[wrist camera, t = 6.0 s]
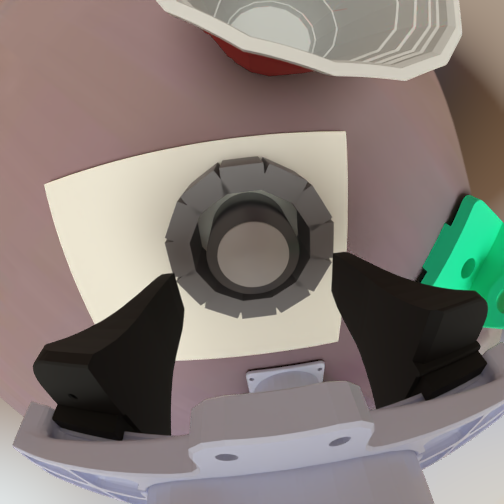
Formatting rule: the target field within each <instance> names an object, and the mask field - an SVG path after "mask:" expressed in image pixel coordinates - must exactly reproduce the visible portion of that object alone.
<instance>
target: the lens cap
mask: <svg viewBox="0 0 504 504" xmlns="http://www.w3.org/2000/svg"><path fill="white" fill-rule="evenodd" d="M206 255H207V262H208V266H209V268H210V270H211V272H212V274H213V275H214V277H215V278H216V279H217V280H218V281H219V282H220V283H221V284H222V285H224V286H225V287H227V288H229V289H231V290H233V291H236V292H239V293H244V294H259V293H264V292H267V291H270V290H273V289H275V288H277V287H278V286H280V285H281V284H283V283H284V282H285V281H286V280H287V279H288V278H289V277H290V276H291V274H292V273H293V271H294V269H295V268H296V265H297V263H298V259H299V243H298V239H297V236H296V234H295V232H294V230H293V229H292V227H291V225H290V223H289V221H288V220H287V218H286V216H285V214H284V213H283V211H282V209H281V208H280V206H279V205H278V204H277V203H276V202H275V201H274V200H273V199H271V198H269V197H268V196H266V195H263V194H260V193H254V192H246V193H240V194H237V195H234V196H232V197H230V198H229V199H227V200H226V201H224V202H223V203H222V204H221V205H220V207H219V208H218V209H217V211H216V213H215V215H214V218H213V222H212V226H211V231H210V235H209V240H208V244H207V251H206Z"/></svg>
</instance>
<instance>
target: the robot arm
mask: <svg viewBox="0 0 504 504" xmlns="http://www.w3.org/2000/svg"><path fill="white" fill-rule="evenodd" d="M331 292H332V295H333V298H334V300H335V303H336V306H337V308H338V310H339V312H340V314H341V316H342V318H343V320H344V322H345V323H346V325H347V327H348V329H349V331H350V333H351V335H352V337H353V339H354V340H355V342H356V345H357V347H358V349H359V352H360V354H361V357H362V360H363V363H364V366H365V369H366V372H367V375H368V379H369V382H370V386H371V389H372V393H373V397H374V401H375V406H376V409H375V410H369V409H368V406H367V404H366V401H365V399H364V396H363V394H362V391H361V389H360V386H357V385H355V384H353V383H350V382H348V381H330V382H323V376H324V368H325V364H324V362H323V361H316V362H310V363H304V364H299V365H292V366H286V367H279V368H271V369H264V370H255V371H249V372H247V373H246V378H247V383H248V387H249V392H250V393H247V394H235V395H224V396H220V397H215V398H210V399H206V400H204V401H202V402H201V403H199V404H198V405H197V406H195V407H194V408H193V409H192V411H191V422H190V433H189V434H187V435H180V436H171V391H172V378H173V370H174V364H175V360H176V355H177V351H178V347H179V342H180V338H181V334H182V329H183V322H184V311H185V309H184V305H183V302H182V299H181V295H180V292H179V288H178V285H177V281H176V278H175V274H174V273H168V274H161V275H160V276H158V277H157V278H156V279H155V280H153V281H152V282H151V283H150V284H149V285H148V286H147V287H145V288H144V289H143V290H142V291H141V292H140V293H139V294H137V295H136V296H135V297H134V298H133V299H131V300H130V301H129V302H128V303H126V304H125V305H124V306H123V307H121V308H120V309H119V310H117V311H116V312H115V313H113V314H112V315H110V316H109V317H107V318H105V319H104V320H102V321H100V322H99V323H97V324H95V325H93V326H91V327H90V328H88V329H86V330H84V331H81V332H79V333H77V334H75V335H72V336H70V337H67V338H65V339H62V340H59V341H56V342H52V343H49V344H46V345H45V346H44V348H43V349H42V351H41V352H40V354H39V356H38V357H37V359H36V361H35V362H34V365H33V371H34V374H35V376H36V378H37V380H38V381H39V383H40V384H41V385H42V387H43V388H44V389H45V390H46V391H47V393H48V394H49V395H50V396H51V397H52V398H53V400H54V401H55V402H56V403H57V404H58V405H57V407H56V409H55V410H54V409H53V408H51V407H49V406H46V405H43V404H39V403H36V402H31V403H30V405H29V407H28V409H27V412H26V414H25V416H24V418H23V421H22V423H21V425H20V428H19V430H18V432H17V435H16V437H15V440H14V443H13V448H14V449H16V450H17V451H18V452H19V453H21V454H22V455H23V456H25V457H26V458H27V459H29V460H30V461H31V462H33V463H34V464H36V465H37V466H38V467H40V468H41V469H43V470H44V471H46V472H47V473H49V474H50V475H52V476H54V477H56V478H59V479H61V480H64V481H66V482H68V483H71V484H73V485H76V486H79V487H81V488H84V489H87V490H89V491H92V492H95V493H98V494H101V495H104V496H107V497H110V498H113V499H116V500H120V501H124V502H127V503H131V504H434V501H433V499H432V496H431V493H430V490H429V487H428V485H427V482H426V479H425V477H424V474H423V471H422V470H423V469H425V468H426V467H428V466H430V465H432V464H434V463H435V462H437V461H439V460H441V459H442V458H444V457H446V456H447V455H449V454H450V453H452V452H454V451H455V450H457V449H458V448H460V447H461V446H463V445H464V444H466V443H467V442H469V441H470V440H472V439H473V438H474V437H475V436H477V435H478V434H480V433H481V432H482V431H484V430H485V429H487V428H488V427H489V426H491V425H492V424H493V423H495V422H496V421H497V420H498V419H500V418H501V417H502V416H503V415H504V343H503V342H500V343H499V344H497V345H495V346H494V347H492V348H490V349H488V350H487V351H486V352H485V353H484V354H483V355H481V354H480V353H479V351H478V350H479V349H480V344H479V343H478V342H477V341H476V340H477V338H478V336H479V334H480V332H481V330H482V327H483V325H484V323H485V320H486V317H487V313H488V304H487V302H486V300H485V299H484V298H483V297H482V296H481V295H480V294H479V293H478V292H476V291H473V290H456V289H448V288H441V287H435V286H431V285H426V284H422V283H418V282H415V281H412V280H409V279H406V278H403V277H400V276H397V275H395V274H392V273H390V272H388V271H386V270H383V269H381V268H379V267H377V266H375V265H373V264H371V263H369V262H367V261H365V260H363V259H361V258H359V257H357V256H355V255H353V254H350V253H348V252H338V253H333V261H332V285H331Z"/></svg>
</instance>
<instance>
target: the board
mask: <svg viewBox="0 0 504 504" xmlns="http://www.w3.org/2000/svg"><path fill="white" fill-rule="evenodd" d="M44 186H45V190H46V195H47V199H48V203H49V206H50V210H51V214H52V217H53V221H54V224H55V227H56V230H57V234H58V237H59V240H60V243H61V246H62V249H63V251H64V254H65V257H66V260H67V262H68V265H69V268H70V270H71V273H72V275H73V278H74V280H75V282H76V285H77V287H78V289H79V292H80V294H81V296H82V298H83V301H84V303H85V305H86V307H87V309H88V311H89V313H90V315H91V317H92V319H93V321H94V323H95V324H97V323H99V322H100V321H102V320H104V319H105V318H107V317H109V316H110V315H112V314H113V313H115V312H116V311H117V310H119V309H120V308H121V307H123V306H124V305H125V304H126V303H128V302H129V301H130V300H131V299H133V298H134V297H135V296H136V295H137V294H139V293H140V292H141V291H142V290H143V289H144V288H145V287H147V286H148V285H149V284H150V283H151V282H152V281H153V280H155V279H156V278H157V277H158V276H160V275H161V274H168V273H174V274H175V278H176V281H177V285H178V288H179V292H180V295H181V299H182V302H183V305H184V309H185V311H184V322H183V329H182V334H181V338H180V342H179V347H178V351H177V355H176V360H175V361H180V360H200V359H215V358H227V357H238V356H248V355H256V354H265V353H272V352H280V351H287V350H293V349H299V348H306V347H311V346H317V345H322V344H328V343H333V342H338V339H339V332H340V324H341V314H340V312H339V310H338V308H337V306H336V303H335V300H334V298H333V295H332V292H331V285H332V261H333V253H338V252H347V227H348V169H347V144H346V131H319V132H295V133H279V134H267V135H256V136H247V137H238V138H230V139H222V140H215V141H209V142H202V143H196V144H191V145H185V146H180V147H174V148H169V149H164V150H160V151H155V152H150V153H146V154H142V155H138V156H133V157H129V158H126V159H122V160H118V161H114V162H111V163H107V164H103V165H100V166H97V167H93V168H90V169H87V170H84V171H80V172H77V173H74V174H71V175H68V176H65V177H63V178H60V179H57V180H54V181H52V182H49V183H47V184H44ZM246 192H254V193H260V194H263V195H266V196H268V197H269V198H271V199H273V200H274V201H275V202H276V203H277V204H278V205H279V206H280V208H281V209H282V211H283V213H284V214H285V216H286V218H287V220H288V221H289V223H290V225H291V227H292V229H293V230H294V232H295V234H296V236H297V239H298V243H299V259H298V263H297V265H296V268H295V269H294V271H293V273H292V274H291V276H290V277H289V278H288V279H287V280H286V281H285V282H284V283H283V284H281V285H280V286H278V287H277V288H275V289H273V290H270V291H267V292H264V293H259V294H244V293H239V292H236V291H233V290H231V289H229V288H227V287H225V286H224V285H222V284H221V283H220V282H219V281H218V280H217V279H216V278H215V277H214V275H213V274H212V272H211V270H210V268H209V266H208V262H207V255H206V251H207V244H208V240H209V235H210V231H211V226H212V222H213V218H214V215H215V213H216V211H217V209H218V208H219V207H220V205H221V204H222V203H223V202H224V201H226V200H227V199H229V198H230V197H232V196H234V195H237V194H240V193H246Z"/></svg>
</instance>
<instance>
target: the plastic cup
mask: <svg viewBox="0 0 504 504" xmlns="http://www.w3.org/2000/svg"><path fill="white" fill-rule="evenodd" d="M156 1H157V2H158V3H159V4H160V6H161V7H162V8H163V9H164V10H165V11H166V12H167V13H169V14H170V15H172V16H174V17H176V18H179V19H181V20H183V21H185V22H188V23H190V24H192V25H194V26H196V27H198V28H200V29H202V30H203V31H204V32H205V33H207V34H209V35H211V37H212V38H213V39H214V40H215V41H216V42H217V44H218V45H219V46H220V47H221V48H222V50H223V51H224V52H225V53H226V54H227V56H228V57H230V58H232V59H233V60H234V61H235V62H236V63H237V64H239V65H241V66H242V67H244V68H245V69H247V70H249V71H250V72H254V73H258V74H263V75H267V76H277V75H288V74H298V73H306V72H312V71H316V72H319V73H322V74H325V75H328V76H354V77H372V78H384V79H394V80H402V81H407V80H409V79H412V78H414V77H416V76H419V75H421V74H424V73H426V72H429V71H431V70H434V69H436V68H439V67H442V66H444V65H446V64H447V63H448V61H449V59H450V57H451V55H452V53H453V51H454V49H455V47H456V45H457V44H458V42H459V40H460V38H461V35H462V26H461V15H460V6H459V0H156Z"/></svg>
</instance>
